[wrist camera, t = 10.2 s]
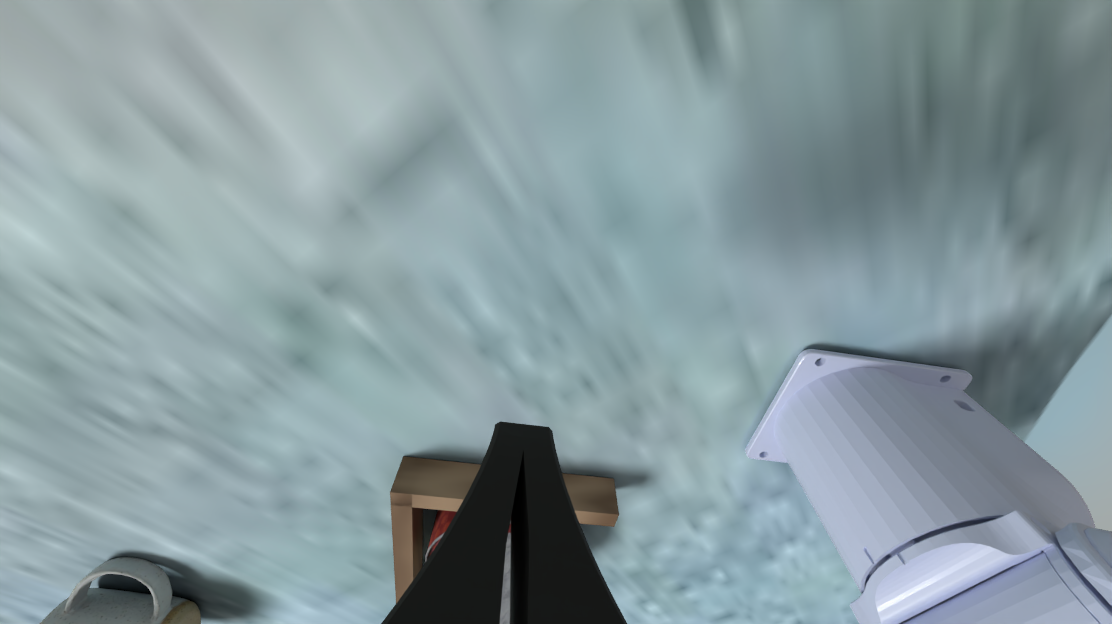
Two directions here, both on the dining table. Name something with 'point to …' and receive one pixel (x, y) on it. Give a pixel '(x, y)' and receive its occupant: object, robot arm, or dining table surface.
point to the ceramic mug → (125, 599)
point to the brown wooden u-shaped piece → (446, 491)
